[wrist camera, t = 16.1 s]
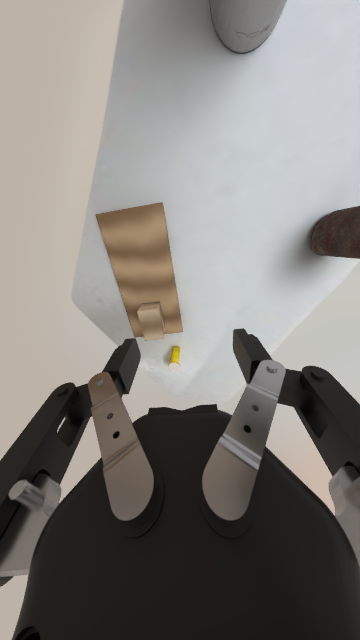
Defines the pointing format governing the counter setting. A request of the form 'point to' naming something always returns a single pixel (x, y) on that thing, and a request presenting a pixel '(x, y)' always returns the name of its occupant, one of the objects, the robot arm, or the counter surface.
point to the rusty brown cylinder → (338, 234)
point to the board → (142, 262)
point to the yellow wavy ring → (174, 360)
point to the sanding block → (151, 320)
